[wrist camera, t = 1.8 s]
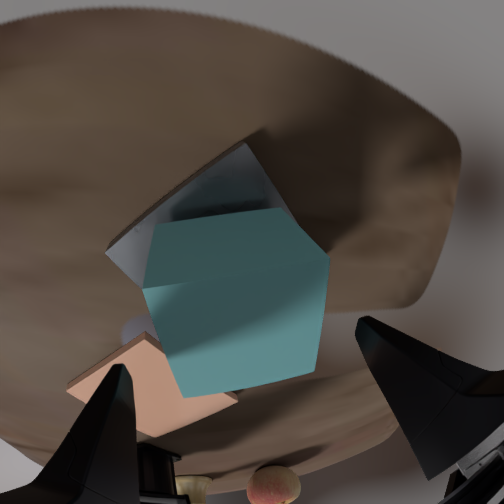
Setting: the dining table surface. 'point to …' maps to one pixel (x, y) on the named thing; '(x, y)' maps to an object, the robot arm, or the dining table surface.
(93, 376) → the tile
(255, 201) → the post base
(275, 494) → the apple
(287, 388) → the dining table surface
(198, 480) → the hand bell
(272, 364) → the teal cube
